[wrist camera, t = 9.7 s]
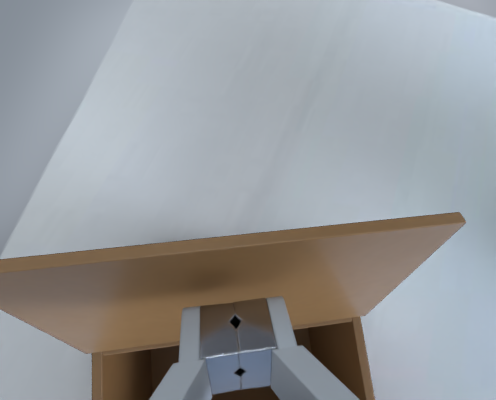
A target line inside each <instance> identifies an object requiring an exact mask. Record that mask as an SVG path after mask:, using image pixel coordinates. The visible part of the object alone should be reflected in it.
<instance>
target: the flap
mask: <svg viewBox="0 0 496 400" xmlns="http://www.w3.org/2000/svg"><path fill="white" fill-rule="evenodd" d="M465 223H466V221H465V219H464V218H463V216H462V215H461V213H460V212H454V213H445V214H435V215H425V216H416V217H406V218H396V219H387V220H377V221H367V222H358V223H348V224H338V225H328V226H319V227H309V228H299V229H290V230H280V231H270V232H261V233H251V234H241V235H232V236H222V237H212V238H203V239H193V240H183V241H174V242H164V243H154V244H145V245H135V246H125V247H116V248H106V249H96V250H86V251H77V252H67V253H57V254H48V255H38V256H28V257H19V258H9V259H0V310H2V311H4V312H6V313H8V314H10V315H12V316H14V317H16V318H18V319H20V320H22V321H24V322H26V323H28V324H30V325H31V326H33V327H35V328H37V329H39V330H41V331H43V332H45V333H47V334H49V335H51V336H53V337H55V338H57V339H59V340H61V341H62V342H64V343H66V344H68V345H70V346H72V347H74V348H76V349H78V350H80V351H82V352H84V353H86V354H88V353H96V352H103V351H110V350H118V349H125V348H132V347H140V346H147V345H154V344H162V343H169V342H177V341H180V330H181V315H182V310H183V308H186V307H195V306H204V305H214V304H225V303H233V302H237V301H244V300H251V299H258V298H269V297H277V296H282V297H283V298H284V301H285V304H286V308H287V311H288V315H289V318H290V322H291V325H292V326H294V325H301V324H309V323H316V322H323V321H331V320H338V319H345V318H353V317H360V316H365V315H367V314H368V313H369V312H370V311H371V310H372V309H373V308H374V307H375V306H376V305H377V304H378V303H380V302H381V301H382V300H383V299H384V298H385V297H386V296H387V295H388V294H389V293H390V292H392V291H393V290H394V289H395V288H396V287H397V286H398V285H399V284H400V283H401V282H402V281H403V280H405V279H406V278H407V277H408V276H409V275H410V274H411V273H412V272H413V271H414V270H415V269H417V268H418V267H419V266H420V265H421V264H422V263H423V262H424V261H425V260H426V259H427V258H429V257H430V256H431V255H432V254H433V253H434V252H435V251H436V250H437V249H438V248H439V247H440V246H442V245H443V244H444V243H445V242H446V241H447V240H448V239H449V238H450V237H451V236H452V235H454V234H455V233H456V232H457V231H458V230H459V229H460V228H461V227H462V226H463V225H464V224H465Z"/></svg>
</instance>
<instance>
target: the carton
mask: <svg viewBox="0 0 496 400" xmlns="http://www.w3.org/2000/svg"><path fill="white" fill-rule="evenodd" d="M292 329H293V332H294V335H295V339H296V342H297V346H300V345H303V346H304V347H305V348H306V349H307V350H308V351H309V352H310V353H311V354H312V355H313V356H314V357H315V358H317V359H318V360H319V361H320V362H321V363H322V364H323V365H324V366H325V367H326V368H327V369H328V370H329V371H330V372H331V373H332V374H333V375H334V376H335V377H337V378H338V379H339V380H340V381H341V382H342V383H343V384H344V385H345V386H346V387H347V388H348V389H349V390H350V391H351V392H352V393H353V394H354V395H355V396H357V397H358V398H359V399H360V400H375V396H374V391H373V385H372V380H371V374H370V369H369V363H368V358H367V352H366V346H365V341H364V335H363V330H362V324H361V319H360V317H353V318H345V319H338V320H331V321H323V322H316V323H309V324H301V325H294V326H292ZM179 346H180V341H177V342H169V343H162V344H154V345H147V346H140V347H132V348H125V349H118V350H110V351H103V352H96V353H92V400H149V399H150V397H151V396H152V394H153V393H154V391H155V390H156V388H157V387H158V385H159V384H160V382H161V381H162V379H163V378H164V376H165V375H166V373H167V372H168V370H169V369H170V367H171V366H172V364H173V363H178V362H179ZM211 400H280V399H279V398H278V396H277V395H276V394H275V392H274V391H273V390H272V388H271V386H267V387H259V388H251V389H241V390H237V391H231V392H226V393H220V394H215V395H212V399H211Z"/></svg>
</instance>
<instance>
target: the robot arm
mask: <svg viewBox="0 0 496 400" xmlns="http://www.w3.org/2000/svg"><path fill="white" fill-rule="evenodd" d="M267 386H271V388H272V390H273V391H274V392H275V394H276V395H277V396H278V398H279V399H280V400H360V399H359V398H358V397H357V396H355V395H354V394H353V393H352V392H351V391H350V390H349V389H348V388H347V387H346V386H345V385H344V384H343V383H342V382H341V381H340V380H339V379H338V378H337V377H335V376H334V375H333V374H332V373H331V372H330V371H329V370H328V369H327V368H326V367H325V366H324V365H323V364H322V363H321V362H320V361H319V360H318V359H317V358H315V357H314V356H313V355H312V354H311V353H310V352H309V351H308V350H307V349H306V348H305V347H304V346H303V345H300V346H297V342H296V339H295V335H294V332H293V329H292V325H291V322H290V318H289V315H288V311H287V308H286V304H285V301H284V298H283V297H282V296H277V297H269V298H258V299H251V300H244V301H237V302H233V303H225V304H214V305H204V306H195V307H186V308H183V310H182V315H181V330H180V346H179V362H178V363H173V364H172V366H171V367H170V369H169V370H168V372H167V373H166V375H165V376H164V378H163V379H162V381H161V382H160V384H159V385H158V387H157V388H156V390H155V391H154V393H153V394H152V396H151V397H150V399H149V400H211V399H212V395H215V394H220V393H226V392H231V391H237V390H241V389H251V388H259V387H267Z"/></svg>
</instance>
